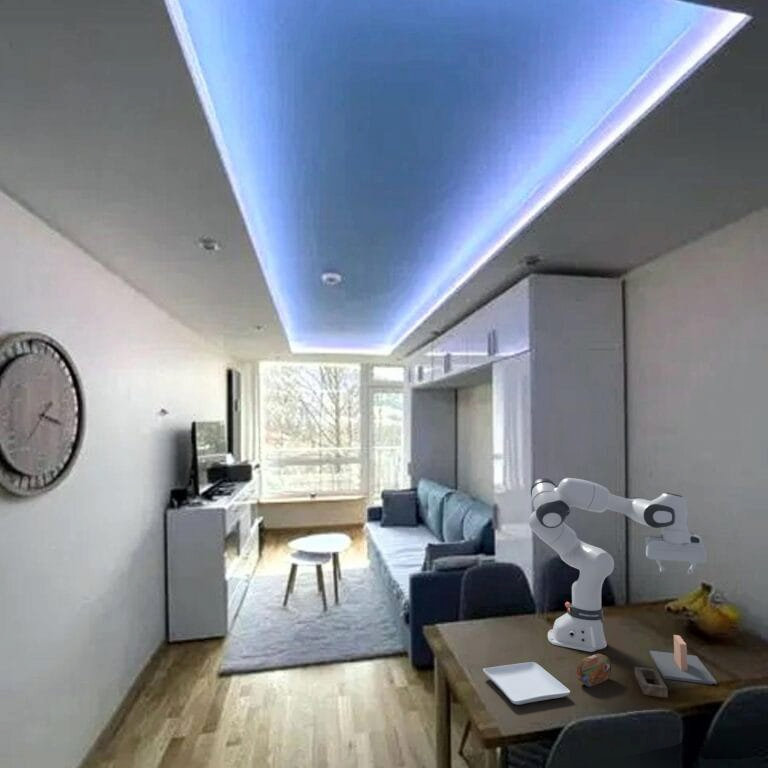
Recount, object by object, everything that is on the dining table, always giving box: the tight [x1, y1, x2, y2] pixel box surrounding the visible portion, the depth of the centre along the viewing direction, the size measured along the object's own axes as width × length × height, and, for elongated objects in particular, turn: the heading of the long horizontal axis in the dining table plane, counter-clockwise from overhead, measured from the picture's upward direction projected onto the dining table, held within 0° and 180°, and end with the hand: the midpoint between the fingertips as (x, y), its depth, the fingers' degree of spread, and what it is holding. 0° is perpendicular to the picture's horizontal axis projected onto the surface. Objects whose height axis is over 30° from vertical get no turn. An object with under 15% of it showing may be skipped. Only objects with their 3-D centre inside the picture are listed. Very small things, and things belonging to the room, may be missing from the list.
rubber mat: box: [649, 650, 718, 686], centre depth 181 cm, size 16×20×1 cm
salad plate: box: [482, 661, 571, 706], centre depth 167 cm, size 21×21×3 cm
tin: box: [576, 653, 612, 688], centre depth 172 cm, size 15×3×8 cm, turn 119°
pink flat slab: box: [673, 634, 688, 671], centre depth 182 cm, size 2×8×9 cm, turn 165°
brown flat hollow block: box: [634, 666, 669, 699], centre depth 169 cm, size 7×13×3 cm, turn 165°
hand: (676, 572), depth 191 cm, fingers open, 8 cm apart
